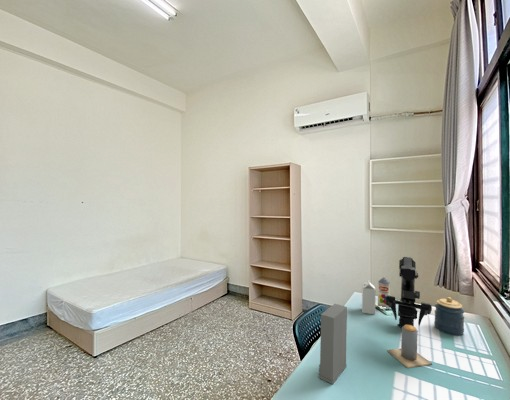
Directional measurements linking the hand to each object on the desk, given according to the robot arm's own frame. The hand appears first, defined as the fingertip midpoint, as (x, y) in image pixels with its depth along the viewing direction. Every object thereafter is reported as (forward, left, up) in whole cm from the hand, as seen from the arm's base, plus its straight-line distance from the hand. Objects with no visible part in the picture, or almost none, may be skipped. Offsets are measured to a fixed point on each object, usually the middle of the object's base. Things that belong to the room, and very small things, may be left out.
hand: (407, 322), depth 121 cm
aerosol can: (-22, -45, -14) cm, 52 cm away
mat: (+3, +4, -13) cm, 14 cm away
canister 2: (-38, -14, -14) cm, 43 cm away
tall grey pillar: (+41, +7, -14) cm, 44 cm away
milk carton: (-9, -42, -14) cm, 45 cm away
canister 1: (+3, +4, -13) cm, 14 cm away
